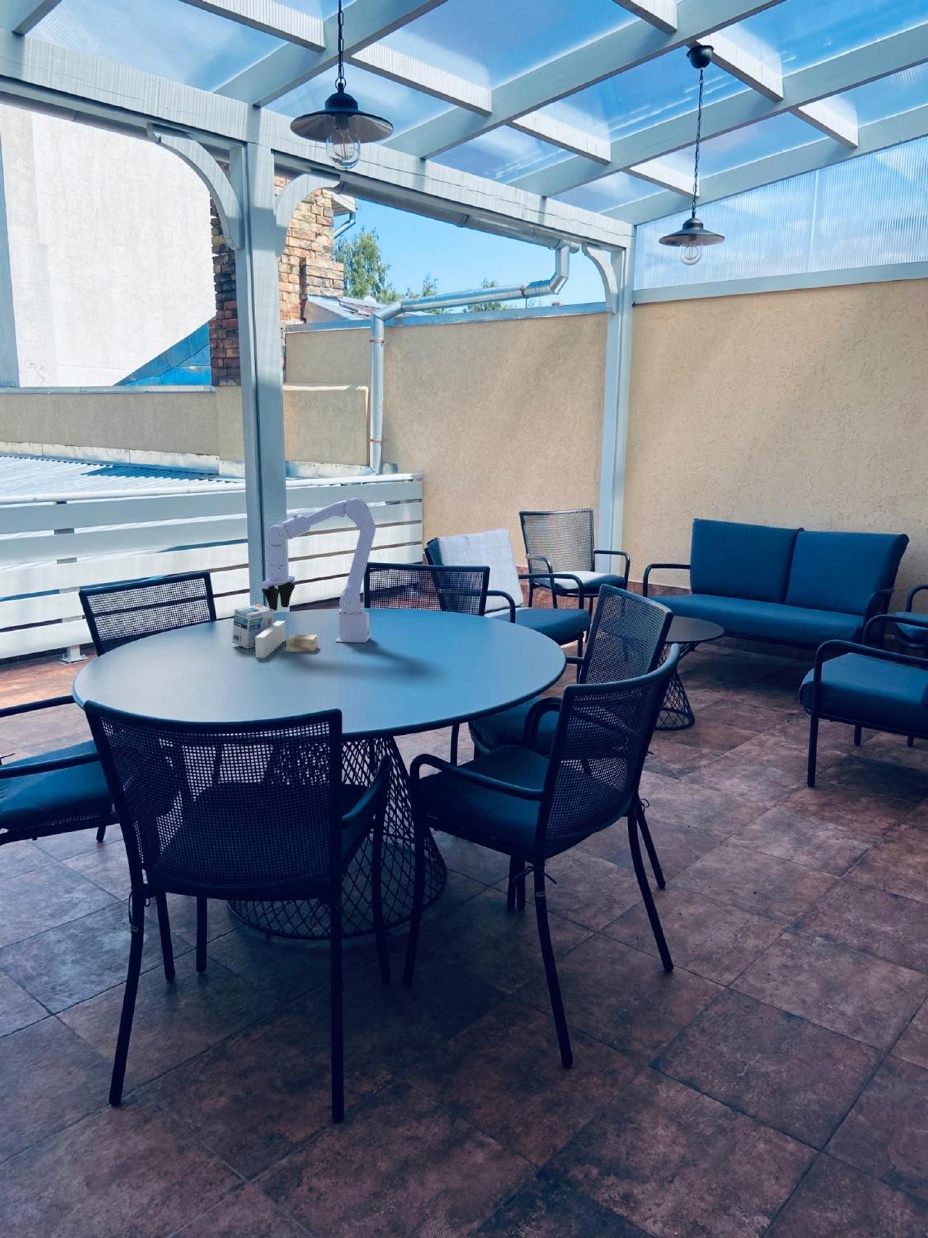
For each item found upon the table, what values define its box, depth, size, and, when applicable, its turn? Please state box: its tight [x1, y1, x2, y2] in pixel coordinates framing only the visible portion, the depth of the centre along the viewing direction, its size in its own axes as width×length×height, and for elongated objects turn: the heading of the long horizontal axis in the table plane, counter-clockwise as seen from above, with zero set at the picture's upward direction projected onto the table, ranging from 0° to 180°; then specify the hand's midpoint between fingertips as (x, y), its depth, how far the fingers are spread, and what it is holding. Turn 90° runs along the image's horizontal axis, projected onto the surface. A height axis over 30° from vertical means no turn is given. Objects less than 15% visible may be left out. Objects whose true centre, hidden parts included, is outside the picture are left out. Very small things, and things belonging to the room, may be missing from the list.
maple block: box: [285, 634, 319, 653], centre depth 266 cm, size 8×6×4 cm
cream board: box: [254, 620, 287, 659], centre depth 267 cm, size 2×24×6 cm, turn 177°
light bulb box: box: [231, 603, 275, 649], centre depth 270 cm, size 11×7×11 cm, turn 149°
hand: (279, 608), depth 275 cm, fingers open, 5 cm apart
